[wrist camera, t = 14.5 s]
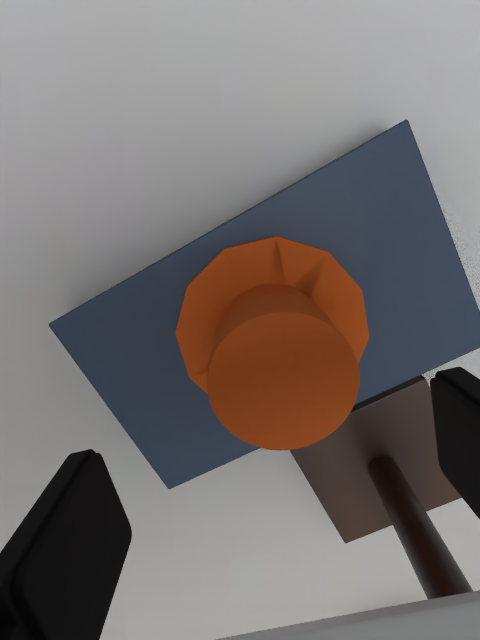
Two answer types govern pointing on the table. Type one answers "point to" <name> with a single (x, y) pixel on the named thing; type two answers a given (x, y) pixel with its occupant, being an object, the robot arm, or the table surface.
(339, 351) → the hat
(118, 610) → the table surface
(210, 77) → the table surface
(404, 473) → the hat stand
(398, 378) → the low stand
